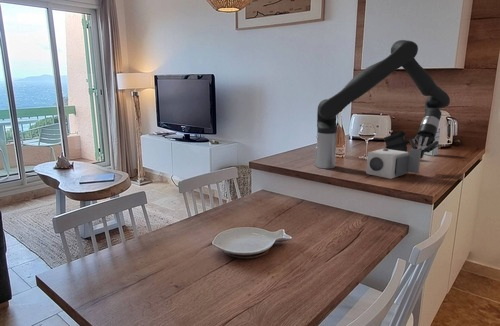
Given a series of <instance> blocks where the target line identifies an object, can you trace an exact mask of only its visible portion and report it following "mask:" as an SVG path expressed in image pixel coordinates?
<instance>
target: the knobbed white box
mask: <svg viewBox="0 0 500 326" xmlns="http://www.w3.org/2000/svg"><path fill="white" fill-rule="evenodd" d="M405 155H409V152H408V151H407V152H404V151H397V150H390V149H387V148H384V147H383V148H381V149H376V150H373V151H372V150H370V151H368V152H367V155H366V156H367V158H366V159H367V160H366V173H365V174H367V175H371V176H376V177H381V178H384V179H390V180H391V179H394V178H397V177H399V176H403V175H405V174H407V173H405V174H402V175H399V176H396V165H397V158H398V157H402V156H405Z"/></svg>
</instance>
